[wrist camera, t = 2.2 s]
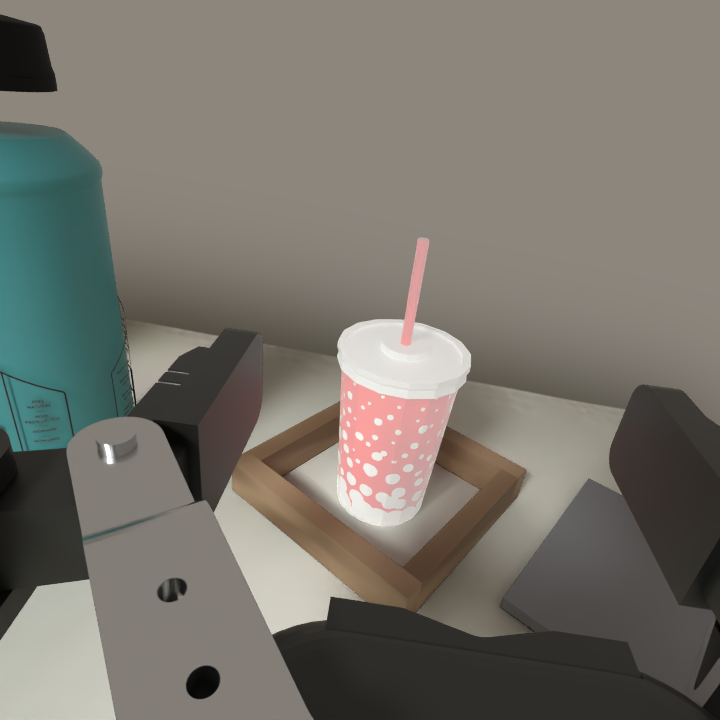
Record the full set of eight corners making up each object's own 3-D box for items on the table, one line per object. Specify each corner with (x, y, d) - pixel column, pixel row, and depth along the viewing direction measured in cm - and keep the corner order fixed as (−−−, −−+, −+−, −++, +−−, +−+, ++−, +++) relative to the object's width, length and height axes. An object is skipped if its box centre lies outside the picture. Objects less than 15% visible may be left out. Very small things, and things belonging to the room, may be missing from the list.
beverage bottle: (171, 464, 28) (133, 30, 18) (75, 556, 22) (-52, 1, 13) (73, 431, 29) (-10, 13, 20) (-40, 509, 24) (-233, -20, 14)
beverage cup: (416, 556, 24) (483, 277, 18) (302, 510, 26) (323, 240, 19) (447, 478, 29) (509, 238, 23) (350, 444, 31) (380, 211, 24)
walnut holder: (232, 489, 27) (231, 459, 26) (366, 409, 35) (370, 384, 34) (400, 630, 21) (407, 598, 20) (517, 497, 29) (526, 469, 28)
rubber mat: (499, 606, 23) (503, 597, 22) (585, 486, 30) (589, 478, 30) (803, 823, 17) (813, 815, 16) (814, 606, 24) (820, 598, 24)
